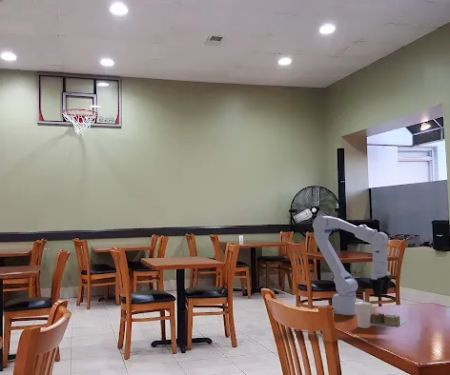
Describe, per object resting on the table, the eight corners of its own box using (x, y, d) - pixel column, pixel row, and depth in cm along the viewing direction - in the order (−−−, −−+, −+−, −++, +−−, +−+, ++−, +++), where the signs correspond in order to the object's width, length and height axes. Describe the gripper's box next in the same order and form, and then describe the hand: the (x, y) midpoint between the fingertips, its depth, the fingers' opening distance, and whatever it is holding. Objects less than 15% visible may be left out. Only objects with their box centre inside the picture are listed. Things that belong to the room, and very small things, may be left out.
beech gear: (382, 324, 181) (382, 316, 182) (387, 321, 186) (387, 314, 186) (396, 326, 178) (396, 318, 178) (401, 323, 182) (401, 315, 183)
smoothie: (363, 332, 173) (362, 293, 174) (351, 329, 179) (350, 291, 180) (376, 330, 176) (375, 292, 177) (364, 327, 182) (363, 289, 183)
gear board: (362, 327, 182) (362, 314, 182) (379, 319, 196) (379, 307, 197) (394, 331, 175) (394, 318, 175) (409, 322, 189) (409, 310, 189)
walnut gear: (370, 323, 184) (369, 315, 184) (369, 320, 189) (369, 312, 189) (384, 323, 182) (384, 315, 182) (384, 320, 187) (383, 313, 187)
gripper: (383, 263, 187) (384, 299, 186) (395, 261, 199) (396, 294, 198) (366, 262, 192) (366, 297, 191) (378, 260, 203) (379, 292, 202)
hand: (380, 295), depth 195 cm, fingers open, 7 cm apart
